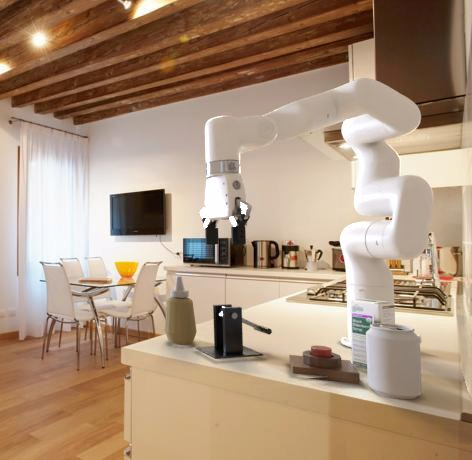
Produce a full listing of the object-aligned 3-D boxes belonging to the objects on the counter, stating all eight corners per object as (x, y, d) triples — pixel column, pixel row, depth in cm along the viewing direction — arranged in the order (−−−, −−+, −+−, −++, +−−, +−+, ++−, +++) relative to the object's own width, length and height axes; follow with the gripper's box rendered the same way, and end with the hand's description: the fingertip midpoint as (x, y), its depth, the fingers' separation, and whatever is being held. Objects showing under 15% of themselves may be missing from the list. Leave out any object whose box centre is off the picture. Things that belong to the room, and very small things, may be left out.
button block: (350, 370, 86) (349, 351, 86) (360, 385, 78) (359, 363, 78) (289, 364, 91) (288, 346, 91) (292, 377, 83) (292, 357, 83)
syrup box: (350, 368, 88) (348, 299, 88) (367, 364, 90) (365, 297, 90) (380, 376, 82) (378, 303, 83) (398, 372, 85) (395, 301, 85)
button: (330, 354, 85) (330, 346, 85) (333, 359, 82) (333, 350, 82) (310, 353, 87) (309, 344, 87) (312, 357, 84) (311, 348, 84)
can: (433, 402, 69) (430, 330, 69) (382, 400, 71) (379, 329, 71) (404, 386, 76) (402, 321, 77) (359, 384, 78) (357, 321, 78)
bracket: (240, 349, 104) (238, 302, 104) (263, 359, 95) (262, 308, 95) (195, 352, 102) (194, 304, 102) (215, 362, 93) (214, 310, 93)
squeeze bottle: (159, 345, 109) (158, 277, 109) (172, 339, 115) (171, 274, 115) (189, 350, 104) (187, 278, 104) (201, 343, 110) (199, 276, 110)
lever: (256, 332, 102) (260, 323, 103) (270, 337, 98) (273, 328, 98) (214, 314, 101) (218, 305, 101) (226, 318, 96) (230, 308, 96)
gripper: (263, 164, 88) (265, 244, 88) (214, 176, 105) (216, 243, 105) (232, 163, 87) (235, 245, 86) (188, 176, 104) (189, 244, 103)
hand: (224, 244), depth 96 cm, fingers open, 9 cm apart
